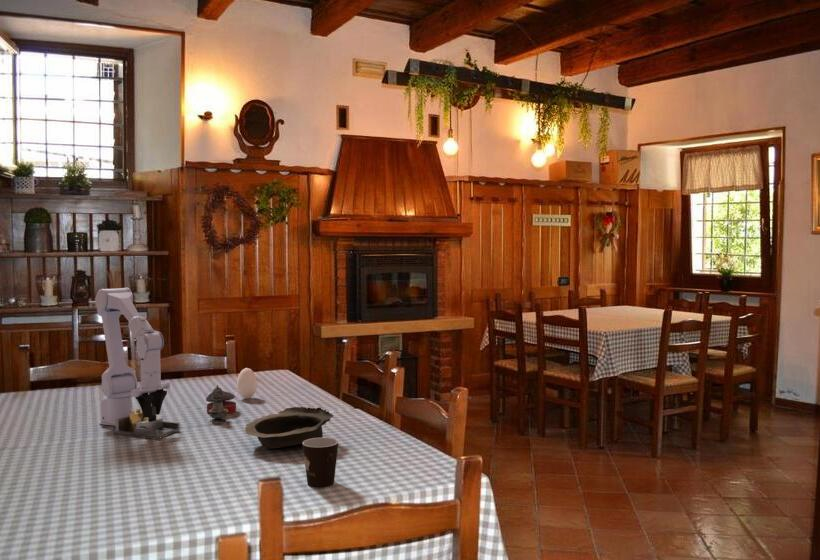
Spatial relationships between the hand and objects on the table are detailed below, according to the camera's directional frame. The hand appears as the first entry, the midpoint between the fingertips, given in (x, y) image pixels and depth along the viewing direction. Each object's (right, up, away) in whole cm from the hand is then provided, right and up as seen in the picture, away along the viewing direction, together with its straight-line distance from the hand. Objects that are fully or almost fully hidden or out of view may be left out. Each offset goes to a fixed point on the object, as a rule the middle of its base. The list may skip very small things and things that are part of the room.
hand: (151, 415), depth 216 cm
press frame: (-2, -5, +1) cm, 6 cm away
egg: (+18, -3, +50) cm, 53 cm away
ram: (-1, -4, 0) cm, 4 cm away
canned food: (+14, -5, +28) cm, 32 cm away
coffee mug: (+58, -8, -48) cm, 76 cm away
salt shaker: (+16, -5, +15) cm, 23 cm away
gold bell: (-5, -4, +2) cm, 7 cm away
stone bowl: (+44, -6, -14) cm, 47 cm away
